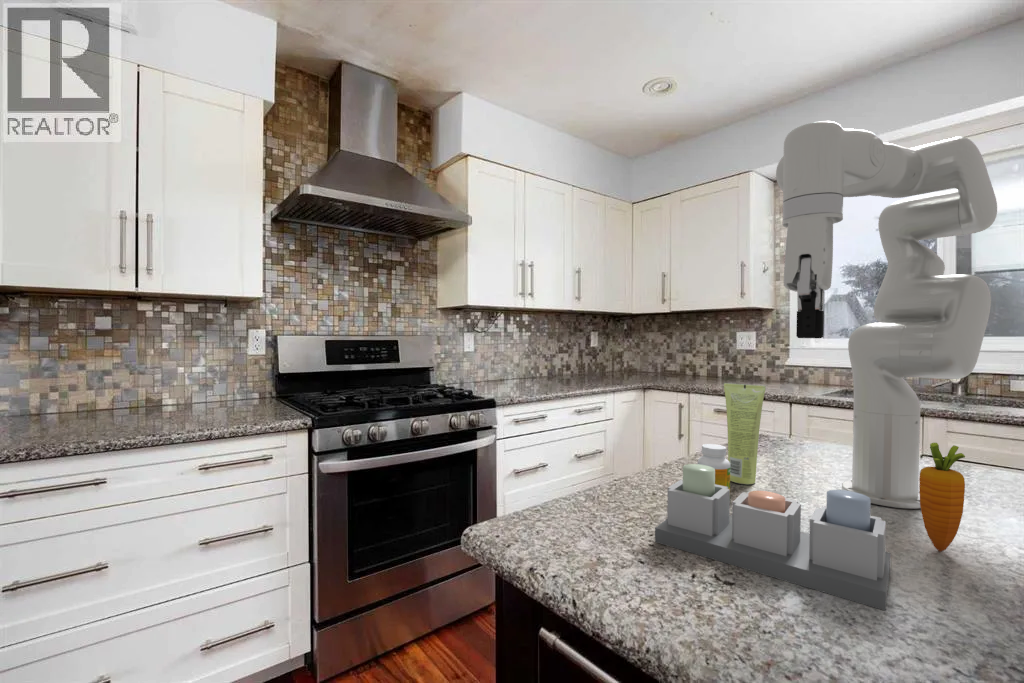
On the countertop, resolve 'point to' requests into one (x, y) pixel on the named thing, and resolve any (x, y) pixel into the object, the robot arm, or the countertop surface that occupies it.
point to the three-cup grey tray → (780, 543)
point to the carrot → (942, 497)
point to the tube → (743, 429)
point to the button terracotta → (767, 500)
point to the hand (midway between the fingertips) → (809, 337)
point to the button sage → (699, 479)
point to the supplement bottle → (716, 463)
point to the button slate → (848, 509)
